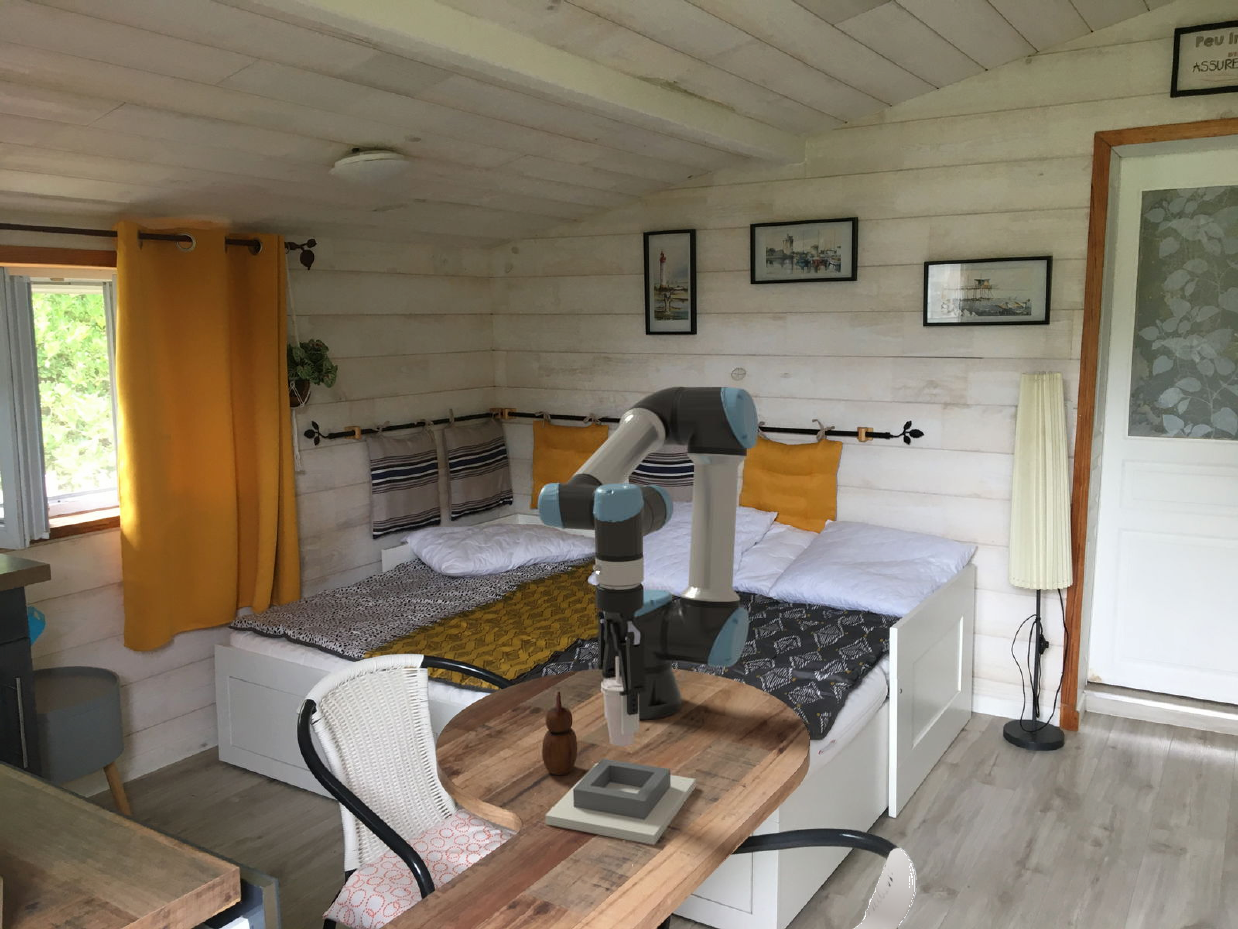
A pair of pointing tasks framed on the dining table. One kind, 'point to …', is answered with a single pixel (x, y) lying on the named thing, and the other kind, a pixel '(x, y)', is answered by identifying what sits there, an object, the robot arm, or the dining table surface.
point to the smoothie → (615, 709)
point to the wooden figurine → (559, 740)
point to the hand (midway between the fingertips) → (621, 724)
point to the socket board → (620, 822)
